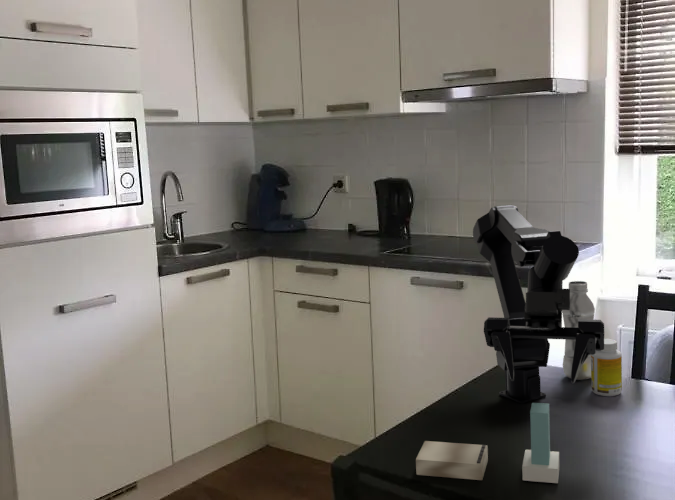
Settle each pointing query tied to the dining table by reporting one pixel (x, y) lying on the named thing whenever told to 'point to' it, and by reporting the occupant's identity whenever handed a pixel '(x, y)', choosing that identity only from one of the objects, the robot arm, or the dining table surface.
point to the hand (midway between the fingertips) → (541, 381)
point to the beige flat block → (452, 460)
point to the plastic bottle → (578, 310)
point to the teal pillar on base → (540, 448)
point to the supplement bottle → (607, 370)
